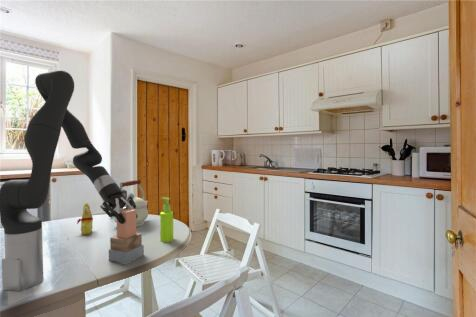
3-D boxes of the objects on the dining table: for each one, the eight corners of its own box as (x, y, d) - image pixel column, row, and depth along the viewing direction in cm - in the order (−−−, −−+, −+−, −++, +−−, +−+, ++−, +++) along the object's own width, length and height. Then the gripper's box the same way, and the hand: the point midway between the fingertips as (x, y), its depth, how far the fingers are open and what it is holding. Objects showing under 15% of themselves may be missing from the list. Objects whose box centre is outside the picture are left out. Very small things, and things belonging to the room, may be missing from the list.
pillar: (126, 238, 98) (126, 212, 98) (116, 236, 100) (116, 211, 100) (136, 234, 103) (136, 209, 102) (127, 233, 105) (126, 208, 104)
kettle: (130, 231, 133) (129, 184, 132) (103, 228, 139) (102, 182, 138) (159, 219, 156) (159, 178, 155) (135, 216, 162) (134, 177, 161)
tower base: (126, 265, 95) (125, 253, 95) (108, 260, 99) (108, 249, 99) (143, 255, 104) (143, 244, 104) (127, 252, 107) (127, 241, 107)
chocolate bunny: (93, 228, 138) (93, 200, 138) (91, 234, 128) (91, 205, 128) (79, 230, 136) (78, 202, 135) (75, 236, 126) (75, 206, 125)
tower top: (126, 252, 96) (126, 240, 96) (110, 249, 99) (110, 237, 99) (141, 244, 104) (141, 233, 104) (126, 242, 107) (126, 231, 106)
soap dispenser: (167, 236, 126) (166, 196, 125) (175, 239, 121) (175, 197, 121) (156, 239, 121) (156, 197, 121) (165, 243, 117) (164, 199, 116)
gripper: (96, 184, 97) (119, 219, 93) (126, 180, 110) (148, 210, 106) (87, 197, 99) (109, 232, 95) (117, 191, 112) (138, 221, 108)
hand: (130, 220), depth 100 cm, fingers open, 5 cm apart
